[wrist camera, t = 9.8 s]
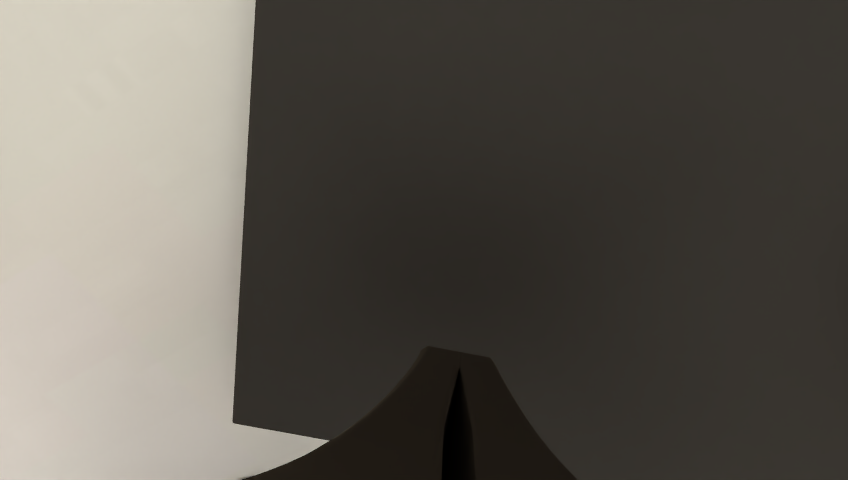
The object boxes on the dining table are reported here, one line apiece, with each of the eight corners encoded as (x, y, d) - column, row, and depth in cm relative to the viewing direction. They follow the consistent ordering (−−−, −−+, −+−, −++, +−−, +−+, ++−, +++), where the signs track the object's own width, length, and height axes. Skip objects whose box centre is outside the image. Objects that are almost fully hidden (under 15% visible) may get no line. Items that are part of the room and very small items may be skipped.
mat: (952, 534, 23) (972, 556, 22) (241, 407, 24) (231, 423, 23) (1232, 3, 17) (1276, 3, 16) (274, -139, 18) (262, -148, 17)
